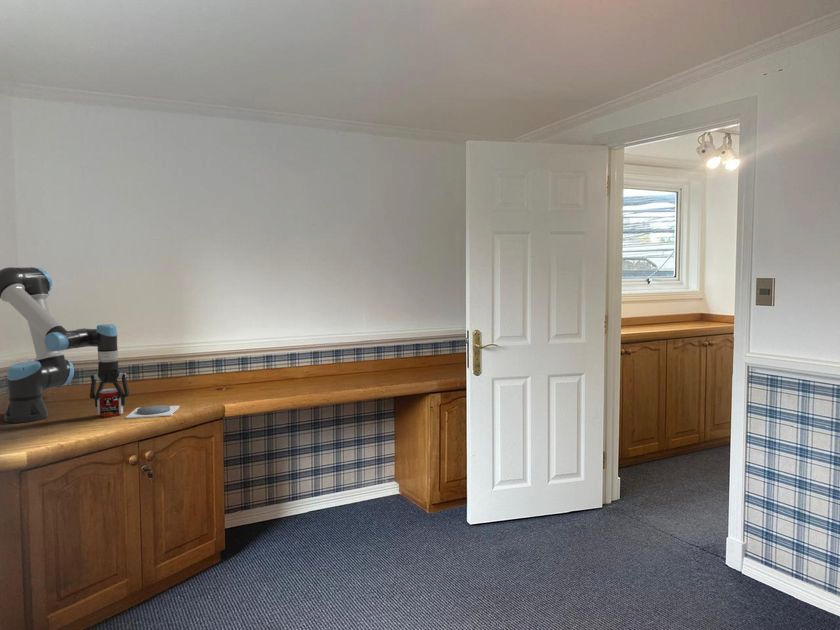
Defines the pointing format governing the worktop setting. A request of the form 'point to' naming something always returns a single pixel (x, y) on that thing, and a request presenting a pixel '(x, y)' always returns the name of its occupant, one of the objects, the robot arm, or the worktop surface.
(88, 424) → the worktop surface
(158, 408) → the white square plate
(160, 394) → the worktop surface
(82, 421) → the worktop surface
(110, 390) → the canned food
